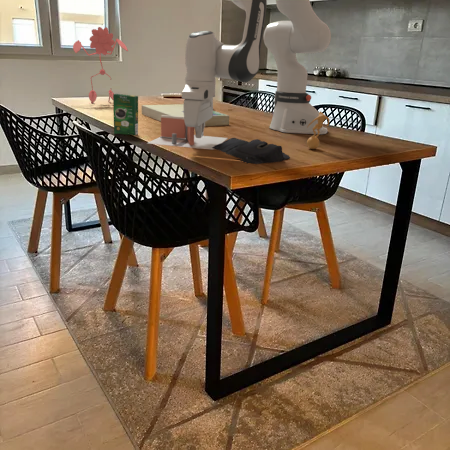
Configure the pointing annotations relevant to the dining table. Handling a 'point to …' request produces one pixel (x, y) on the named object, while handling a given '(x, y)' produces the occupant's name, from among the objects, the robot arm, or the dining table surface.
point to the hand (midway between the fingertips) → (199, 137)
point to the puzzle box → (181, 113)
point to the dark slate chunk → (252, 151)
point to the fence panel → (190, 135)
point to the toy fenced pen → (202, 142)
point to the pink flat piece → (173, 126)
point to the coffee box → (125, 114)
